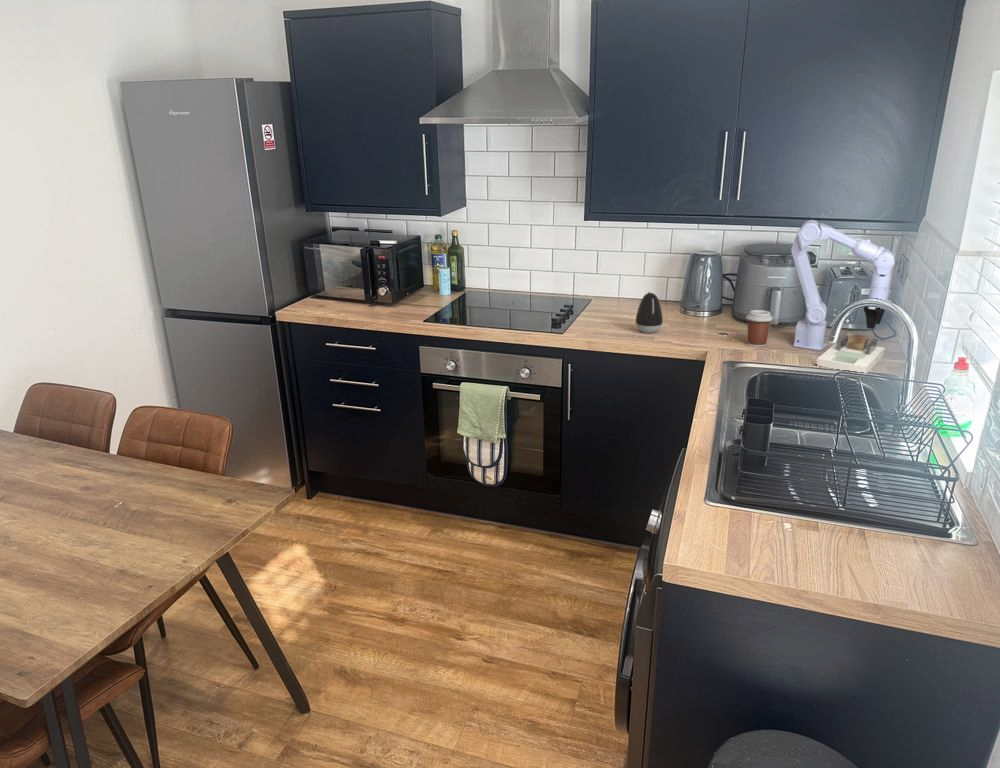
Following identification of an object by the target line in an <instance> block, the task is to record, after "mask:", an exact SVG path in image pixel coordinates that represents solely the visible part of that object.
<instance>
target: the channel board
mask: <svg viewBox="0 0 1000 768" xmlns="http://www.w3.org/2000/svg"><path fill="white" fill-rule="evenodd" d="M836 347H837V341H836V342H834V344H833V345H832V346H830V347H829V348H828V349H827V350H826V351H825V352H823V353H822V354H820V355H819V357H817V359H816V363H815V364H818V365H820V366H824V367H828V368H827V369H830V368H833V369H832V370H836V369H840V370H839V371H842V370H850V371H857V372H864V373H866V374H867V373H868V372H869V371H871V369H872V368H873V367H874V366H875V365H876V364H877V362H879V360H880V359H881V358H882V357H883V356H884V355H885V350H886V347H884V346H876V349H875V350H874V351H873V352H872V353H871V354H870V355H866V354H865V353H866V349H865V350H864V351H859V350H852V349H847V347H848V343H847V344H846V345H845V346H844V347H843V348H842V349H841V350H836ZM824 367H823V368H824Z"/></svg>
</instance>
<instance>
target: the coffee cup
mask: <svg viewBox="0 0 1000 768" xmlns="http://www.w3.org/2000/svg"><path fill="white" fill-rule="evenodd" d="M745 319H747V345H748V346H750V347H756V348H763V347H766V346H767V343H768V337H769V332H770V328H771V326H770V322H771V321H772V320H773V321H774V316H773V317H772V316H771V315H770V312H769V311H765V310H752V309H751V310H750V311H749V313H748V314H746V316H745Z"/></svg>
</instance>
